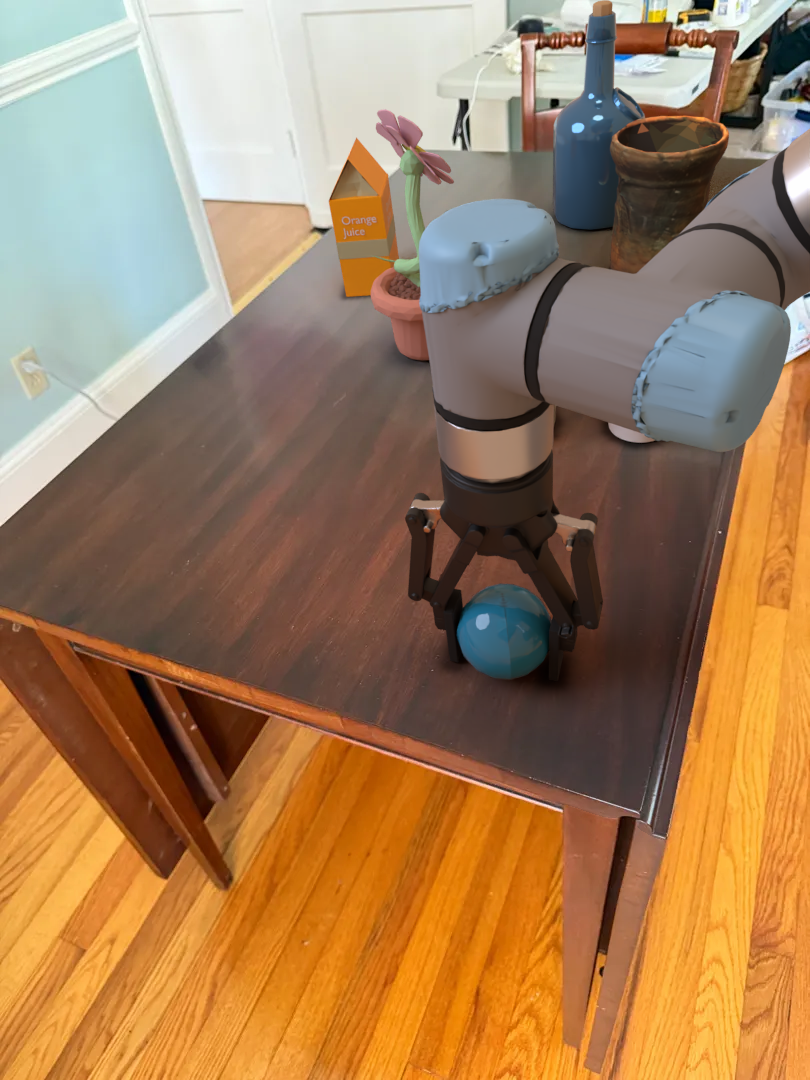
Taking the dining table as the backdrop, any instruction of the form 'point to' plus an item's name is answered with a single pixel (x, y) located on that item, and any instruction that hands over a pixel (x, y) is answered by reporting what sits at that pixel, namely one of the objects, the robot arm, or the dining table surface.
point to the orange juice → (363, 221)
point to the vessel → (660, 182)
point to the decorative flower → (401, 283)
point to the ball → (504, 631)
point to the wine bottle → (591, 133)
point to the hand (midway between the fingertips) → (506, 658)
